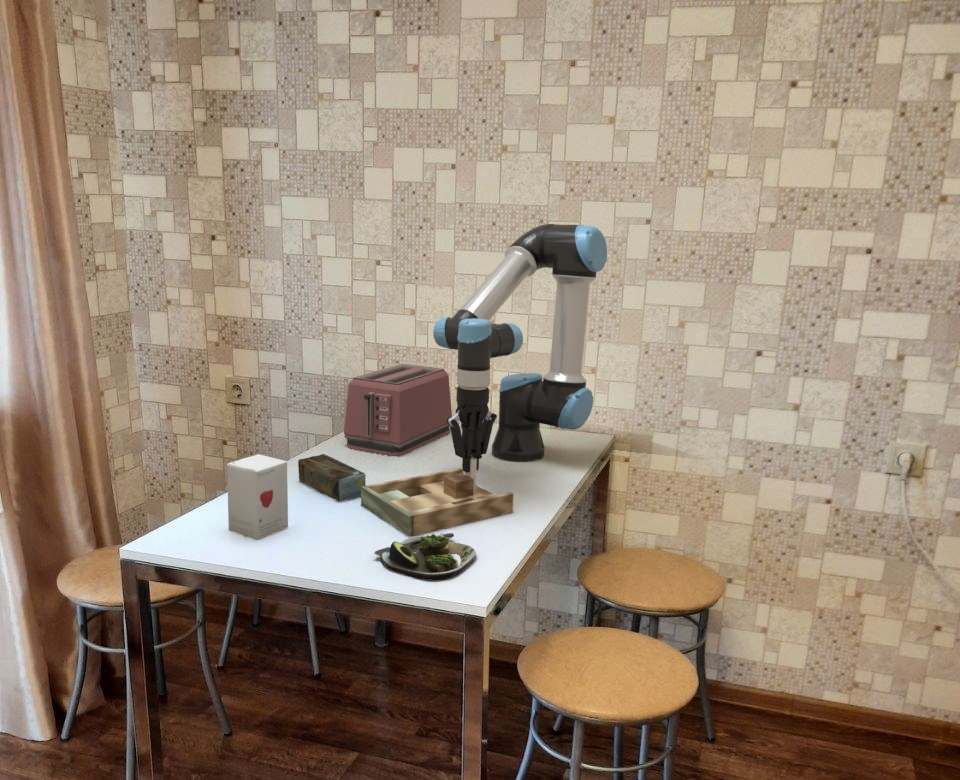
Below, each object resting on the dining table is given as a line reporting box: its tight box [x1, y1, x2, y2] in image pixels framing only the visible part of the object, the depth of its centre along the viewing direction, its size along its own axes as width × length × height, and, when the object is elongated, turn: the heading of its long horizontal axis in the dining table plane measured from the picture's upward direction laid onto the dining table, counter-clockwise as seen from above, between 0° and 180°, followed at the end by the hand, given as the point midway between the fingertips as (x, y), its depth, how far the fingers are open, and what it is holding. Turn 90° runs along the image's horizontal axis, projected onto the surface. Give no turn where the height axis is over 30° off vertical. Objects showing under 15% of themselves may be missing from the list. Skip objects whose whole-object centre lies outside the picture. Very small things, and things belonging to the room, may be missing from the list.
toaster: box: [343, 363, 453, 457], centre depth 239 cm, size 19×34×20 cm, turn 153°
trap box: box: [360, 467, 514, 538], centre depth 186 cm, size 28×22×4 cm
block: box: [444, 473, 474, 499], centre depth 189 cm, size 5×5×4 cm
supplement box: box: [226, 453, 289, 541], centre depth 170 cm, size 9×9×15 cm
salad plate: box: [373, 532, 477, 581], centre depth 160 cm, size 19×18×5 cm
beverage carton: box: [297, 453, 367, 503], centre depth 197 cm, size 8×19×7 cm, turn 42°
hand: (470, 484), depth 191 cm, fingers closed
